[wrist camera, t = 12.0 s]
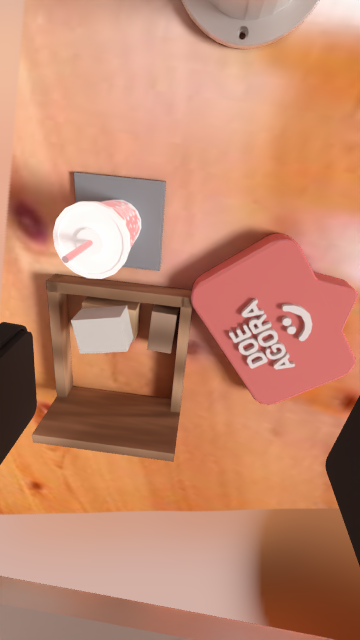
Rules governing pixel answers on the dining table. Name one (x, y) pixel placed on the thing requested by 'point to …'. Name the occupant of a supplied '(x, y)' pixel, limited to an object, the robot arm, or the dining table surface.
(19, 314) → the dining table surface
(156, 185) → the coaster
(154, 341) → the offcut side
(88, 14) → the dining table surface
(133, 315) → the block
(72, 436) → the rack
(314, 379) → the plaque
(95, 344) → the offcut top
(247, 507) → the dining table surface
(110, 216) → the beverage cup
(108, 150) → the dining table surface
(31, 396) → the robot arm
